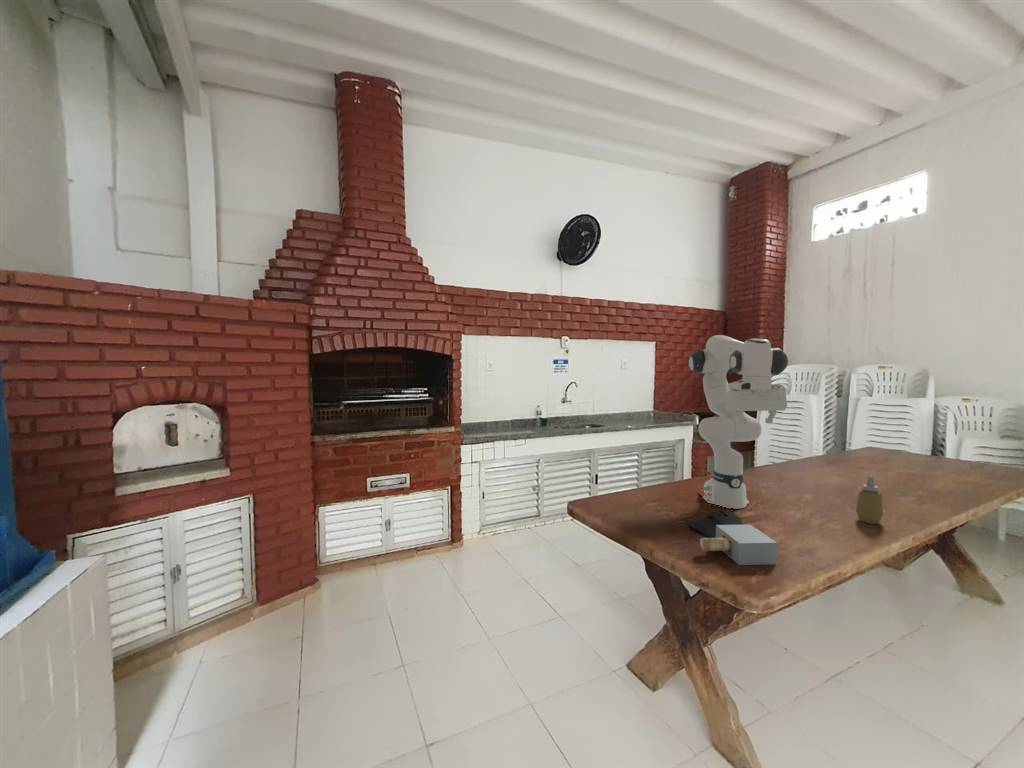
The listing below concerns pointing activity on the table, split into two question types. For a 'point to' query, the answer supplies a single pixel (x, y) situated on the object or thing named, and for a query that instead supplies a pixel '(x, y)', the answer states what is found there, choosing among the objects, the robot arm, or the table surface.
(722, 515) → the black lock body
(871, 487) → the squeeze bottle
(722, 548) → the dowel peg
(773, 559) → the socket block
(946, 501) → the table surface
